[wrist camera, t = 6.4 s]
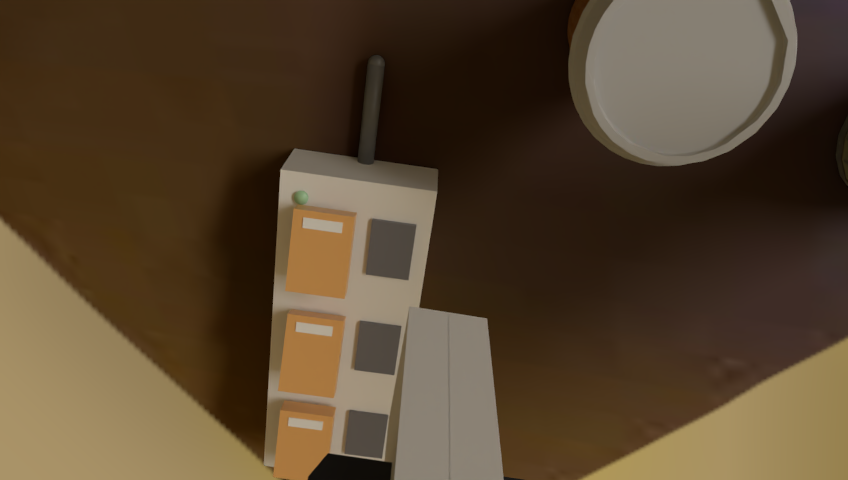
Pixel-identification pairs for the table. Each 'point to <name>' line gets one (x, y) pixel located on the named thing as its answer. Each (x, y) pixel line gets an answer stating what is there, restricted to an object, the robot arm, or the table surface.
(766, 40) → the disposable coffee cup
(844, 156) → the stone tower
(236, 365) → the table surface
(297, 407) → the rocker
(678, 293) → the table surface
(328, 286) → the orange block
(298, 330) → the orange block
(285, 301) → the power strip
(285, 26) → the table surface
